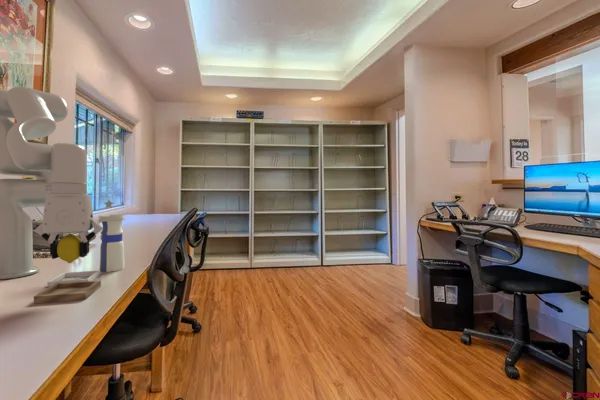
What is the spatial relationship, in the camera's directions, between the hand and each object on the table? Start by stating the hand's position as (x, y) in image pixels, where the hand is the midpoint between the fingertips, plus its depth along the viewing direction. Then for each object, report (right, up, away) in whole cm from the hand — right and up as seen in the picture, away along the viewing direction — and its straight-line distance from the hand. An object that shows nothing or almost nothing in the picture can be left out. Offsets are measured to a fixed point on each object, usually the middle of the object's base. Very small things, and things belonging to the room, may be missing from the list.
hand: (70, 256), depth 79 cm
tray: (0, -10, 0) cm, 10 cm away
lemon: (0, -2, 0) cm, 2 cm away
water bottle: (-5, -10, +26) cm, 28 cm away
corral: (-8, -10, +13) cm, 18 cm away
